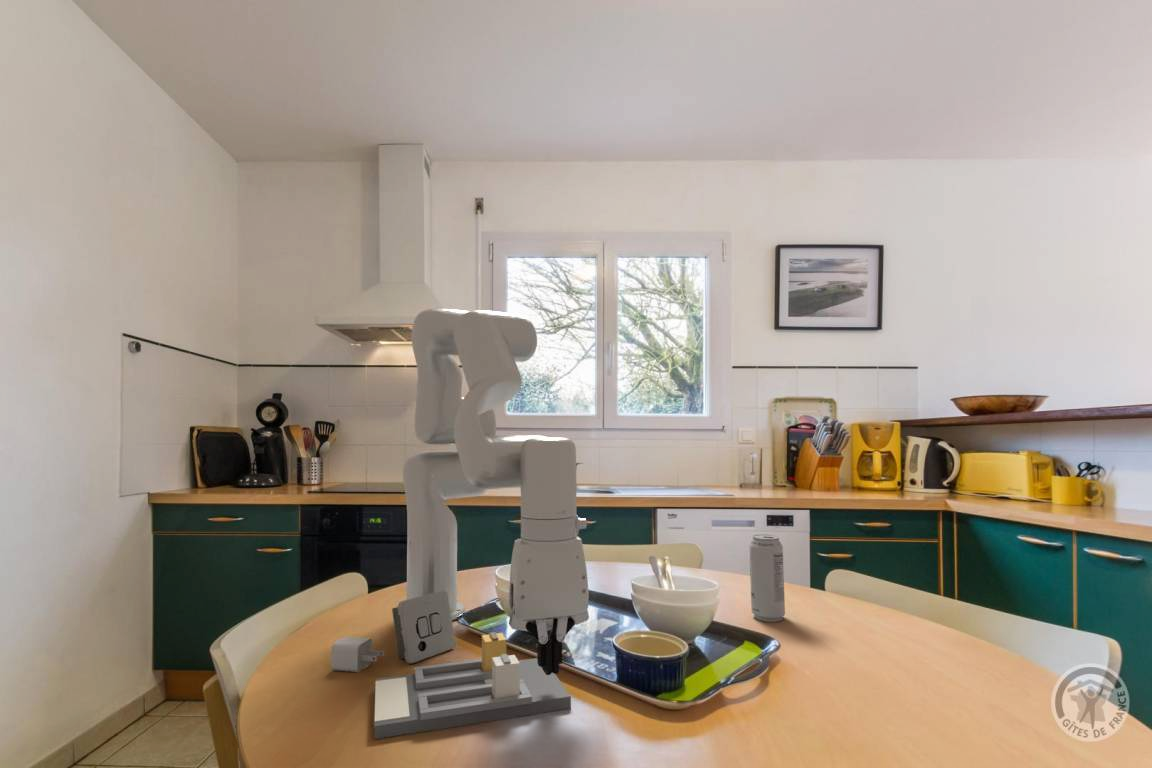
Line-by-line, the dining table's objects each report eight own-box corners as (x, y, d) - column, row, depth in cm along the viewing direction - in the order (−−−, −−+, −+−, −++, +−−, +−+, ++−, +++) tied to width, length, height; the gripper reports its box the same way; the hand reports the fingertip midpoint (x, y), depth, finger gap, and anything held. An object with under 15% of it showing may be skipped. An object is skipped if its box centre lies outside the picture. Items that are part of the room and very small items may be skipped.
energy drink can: (757, 610, 117) (755, 532, 119) (789, 616, 114) (786, 535, 115) (747, 619, 113) (744, 537, 114) (779, 624, 109) (776, 540, 110)
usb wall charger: (346, 661, 94) (347, 635, 94) (386, 664, 93) (387, 638, 93) (331, 671, 90) (331, 644, 90) (372, 675, 89) (373, 647, 89)
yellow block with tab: (481, 667, 87) (481, 633, 87) (502, 664, 88) (502, 630, 88) (485, 675, 84) (485, 639, 85) (506, 672, 85) (506, 637, 85)
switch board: (375, 689, 84) (375, 672, 84) (542, 666, 91) (542, 651, 91) (374, 740, 70) (374, 720, 70) (571, 709, 77) (571, 690, 77)
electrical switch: (409, 666, 92) (406, 603, 93) (389, 662, 95) (387, 601, 96) (457, 649, 99) (454, 590, 100) (437, 645, 102) (434, 588, 104)
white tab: (492, 693, 78) (492, 655, 79) (514, 689, 79) (514, 652, 80) (496, 703, 76) (496, 663, 76) (519, 699, 77) (519, 660, 77)
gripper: (592, 522, 87) (593, 653, 85) (488, 528, 82) (488, 667, 81) (610, 530, 80) (612, 674, 78) (498, 538, 75) (498, 690, 74)
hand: (549, 670), depth 79 cm, fingers closed
